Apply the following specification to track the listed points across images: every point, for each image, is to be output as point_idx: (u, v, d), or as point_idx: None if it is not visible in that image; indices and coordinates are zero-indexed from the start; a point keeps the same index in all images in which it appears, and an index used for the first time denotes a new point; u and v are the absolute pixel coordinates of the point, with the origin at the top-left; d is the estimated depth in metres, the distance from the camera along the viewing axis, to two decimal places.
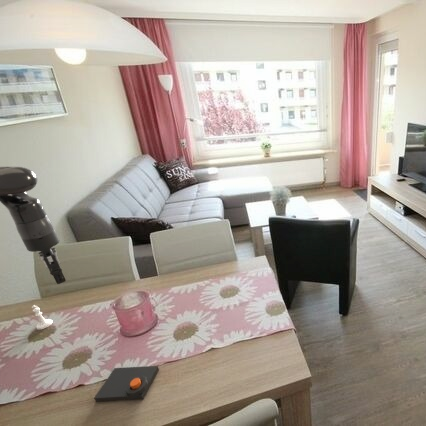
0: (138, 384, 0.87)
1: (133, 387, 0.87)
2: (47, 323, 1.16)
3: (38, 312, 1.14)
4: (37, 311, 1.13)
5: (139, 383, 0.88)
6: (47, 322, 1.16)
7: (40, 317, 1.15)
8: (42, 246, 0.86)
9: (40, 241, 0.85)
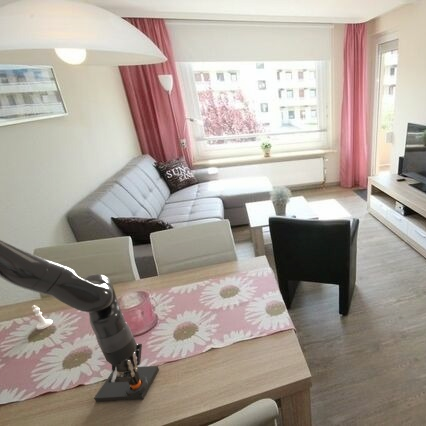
0: (138, 385, 0.87)
1: (133, 387, 0.87)
2: (47, 323, 1.16)
3: (38, 312, 1.14)
4: (37, 311, 1.13)
5: (139, 383, 0.88)
6: (47, 322, 1.16)
7: (40, 317, 1.15)
8: (111, 360, 0.78)
9: (109, 356, 0.78)
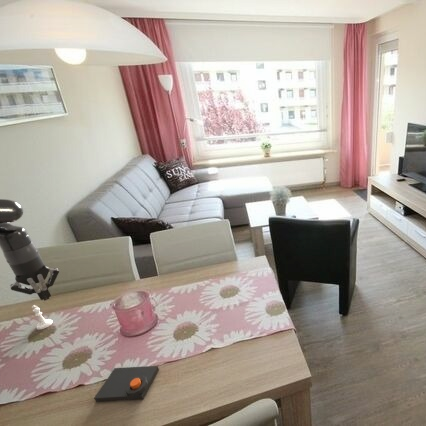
0: (138, 384, 0.87)
1: (133, 387, 0.87)
2: (47, 323, 1.16)
3: (38, 312, 1.14)
4: (37, 311, 1.13)
5: (139, 383, 0.88)
6: (47, 322, 1.16)
7: (40, 317, 1.15)
8: None
9: (10, 266, 0.94)
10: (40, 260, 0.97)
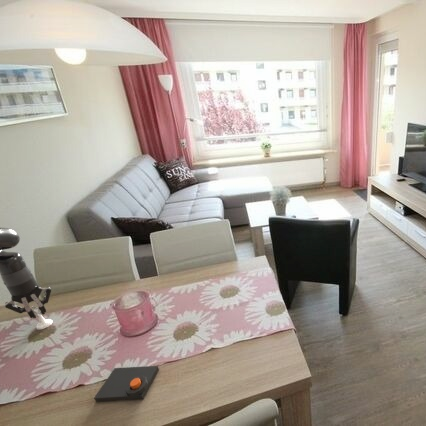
0: (138, 384, 0.87)
1: (133, 387, 0.87)
2: (47, 323, 1.16)
3: (38, 312, 1.14)
4: (37, 311, 1.13)
5: (139, 383, 0.88)
6: (47, 322, 1.16)
7: (40, 317, 1.15)
8: None
9: (7, 287, 1.06)
10: (33, 282, 1.09)
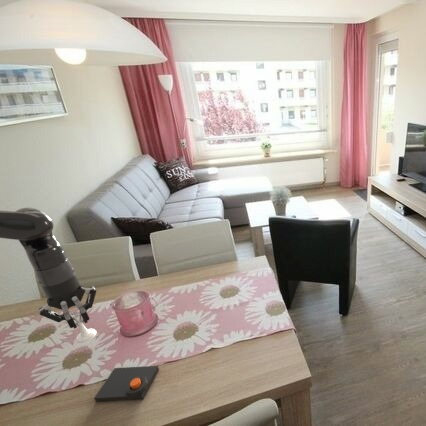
0: (138, 384, 0.87)
1: (133, 387, 0.87)
2: (90, 334, 0.89)
3: (79, 320, 0.87)
4: (78, 319, 0.86)
5: (139, 383, 0.88)
6: (90, 333, 0.89)
7: (82, 326, 0.88)
8: (44, 292, 0.80)
9: (42, 288, 0.79)
10: (76, 280, 0.82)
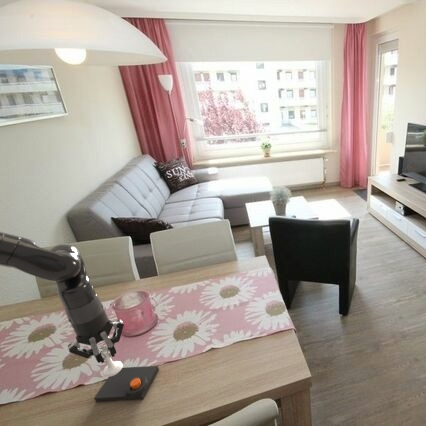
0: (138, 384, 0.87)
1: (133, 387, 0.87)
2: (117, 368, 0.88)
3: (107, 354, 0.86)
4: (106, 353, 0.85)
5: (139, 383, 0.88)
6: (117, 366, 0.88)
7: (109, 360, 0.87)
8: (74, 329, 0.79)
9: None
10: (104, 316, 0.81)
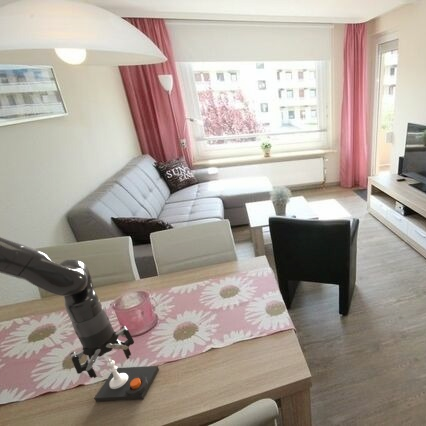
0: (138, 384, 0.87)
1: (133, 387, 0.87)
2: (123, 380, 0.90)
3: (113, 367, 0.88)
4: (112, 366, 0.87)
5: (139, 383, 0.88)
6: (123, 378, 0.90)
7: (115, 373, 0.89)
8: (80, 341, 0.80)
9: (78, 337, 0.80)
10: (110, 328, 0.83)
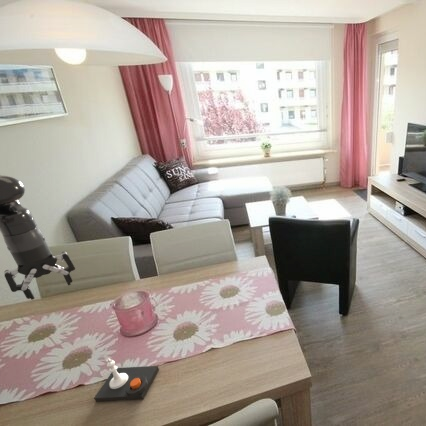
0: (138, 384, 0.87)
1: (133, 387, 0.87)
2: (123, 380, 0.90)
3: (113, 367, 0.88)
4: (112, 366, 0.87)
5: (139, 383, 0.88)
6: (123, 378, 0.90)
7: (115, 373, 0.89)
8: None
9: (12, 254, 0.80)
10: (46, 248, 0.83)
